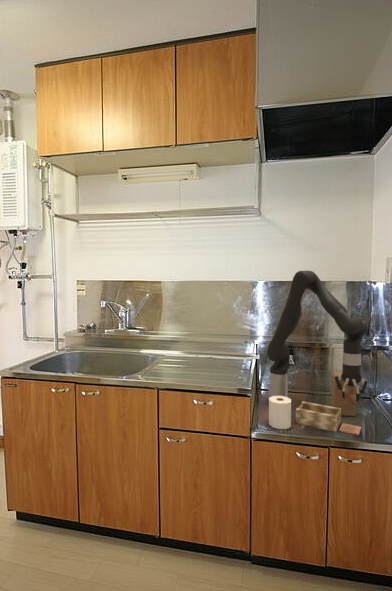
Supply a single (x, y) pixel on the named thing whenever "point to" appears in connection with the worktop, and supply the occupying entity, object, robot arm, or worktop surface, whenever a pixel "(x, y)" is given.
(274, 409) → the toilet paper
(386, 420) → the worktop surface
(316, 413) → the crate
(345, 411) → the wooden block
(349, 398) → the walnut block
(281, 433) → the worktop surface
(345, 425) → the tile
